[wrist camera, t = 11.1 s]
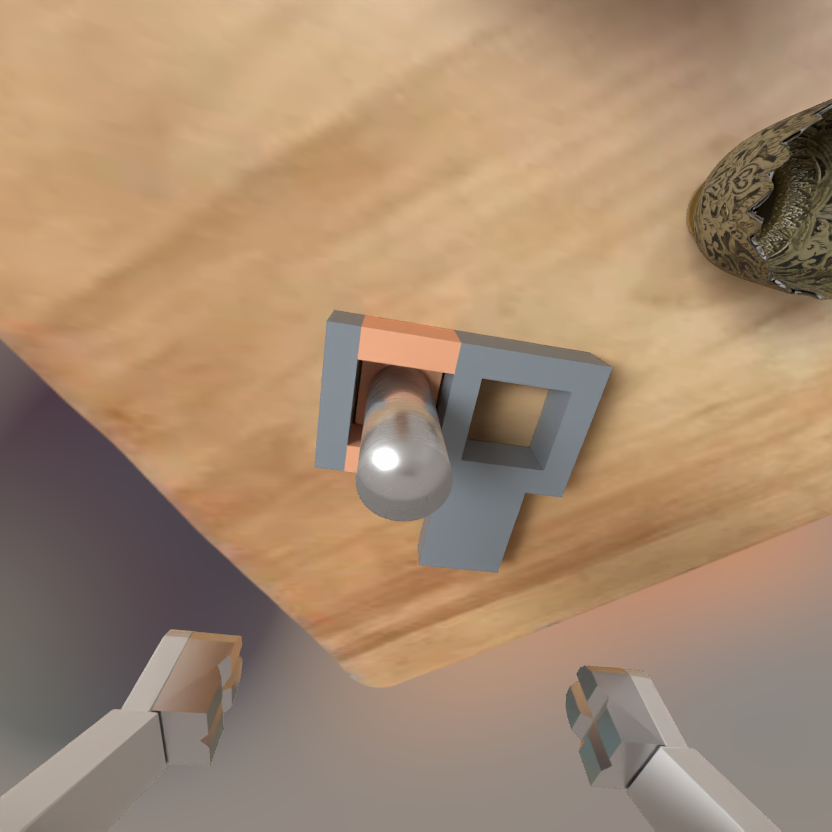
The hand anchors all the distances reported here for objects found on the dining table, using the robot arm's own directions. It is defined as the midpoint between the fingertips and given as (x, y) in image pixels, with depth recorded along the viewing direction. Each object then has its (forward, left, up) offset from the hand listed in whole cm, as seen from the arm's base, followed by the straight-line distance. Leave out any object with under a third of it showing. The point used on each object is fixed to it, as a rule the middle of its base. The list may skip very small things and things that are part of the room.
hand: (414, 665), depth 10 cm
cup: (-15, -13, -18) cm, 27 cm away
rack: (-3, +4, -18) cm, 19 cm away
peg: (0, 0, -18) cm, 18 cm away
